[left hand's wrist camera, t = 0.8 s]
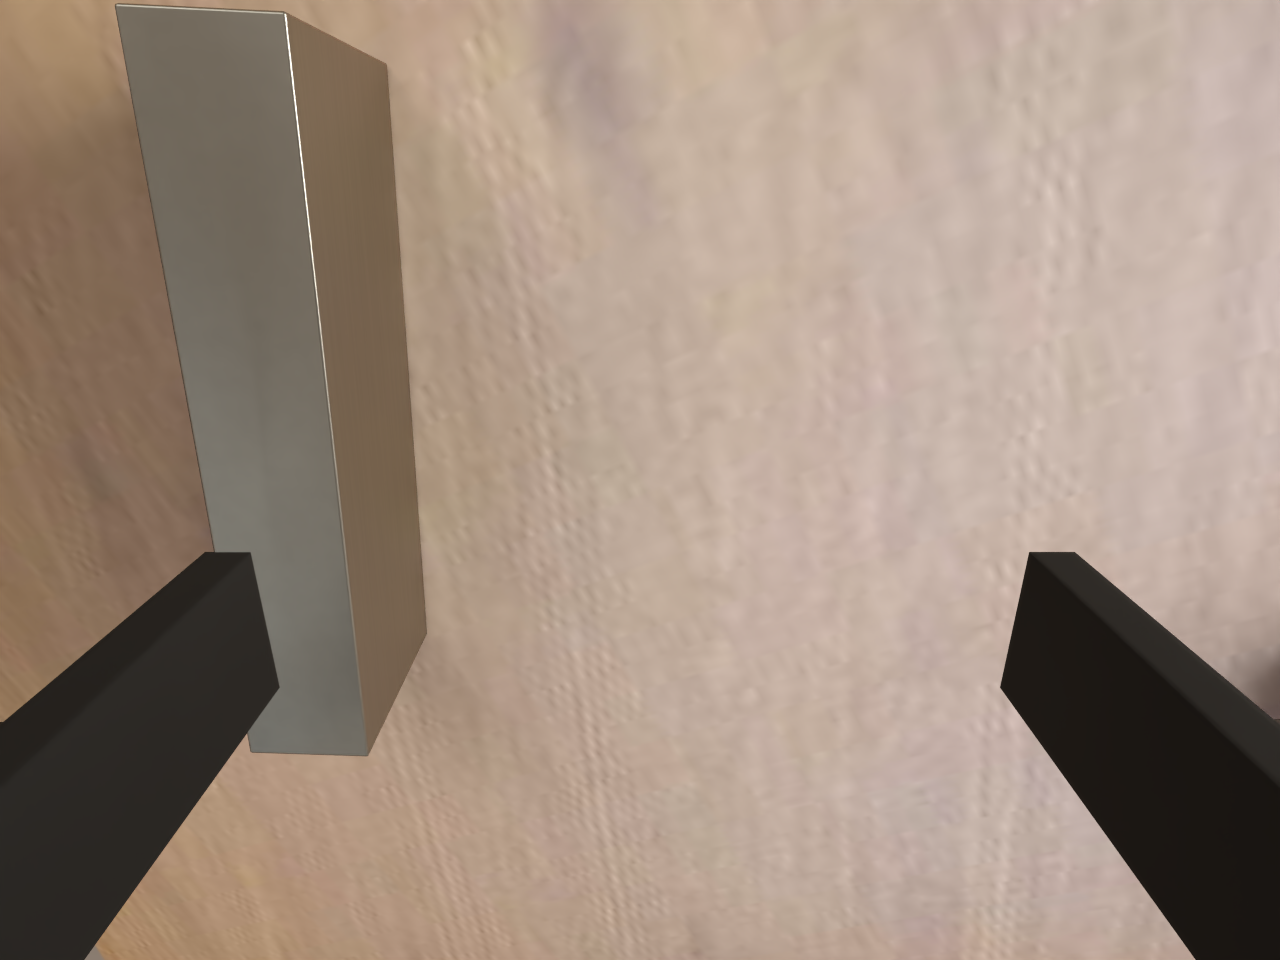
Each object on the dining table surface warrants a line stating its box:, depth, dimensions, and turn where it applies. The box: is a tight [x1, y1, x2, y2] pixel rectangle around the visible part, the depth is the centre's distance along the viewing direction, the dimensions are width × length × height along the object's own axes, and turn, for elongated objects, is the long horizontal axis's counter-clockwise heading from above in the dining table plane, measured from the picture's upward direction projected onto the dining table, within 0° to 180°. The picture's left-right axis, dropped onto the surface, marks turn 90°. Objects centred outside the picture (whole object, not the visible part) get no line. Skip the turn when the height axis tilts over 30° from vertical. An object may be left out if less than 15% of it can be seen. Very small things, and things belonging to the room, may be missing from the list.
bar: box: [115, 3, 427, 756], centre depth 28 cm, size 25×4×9 cm, turn 178°
